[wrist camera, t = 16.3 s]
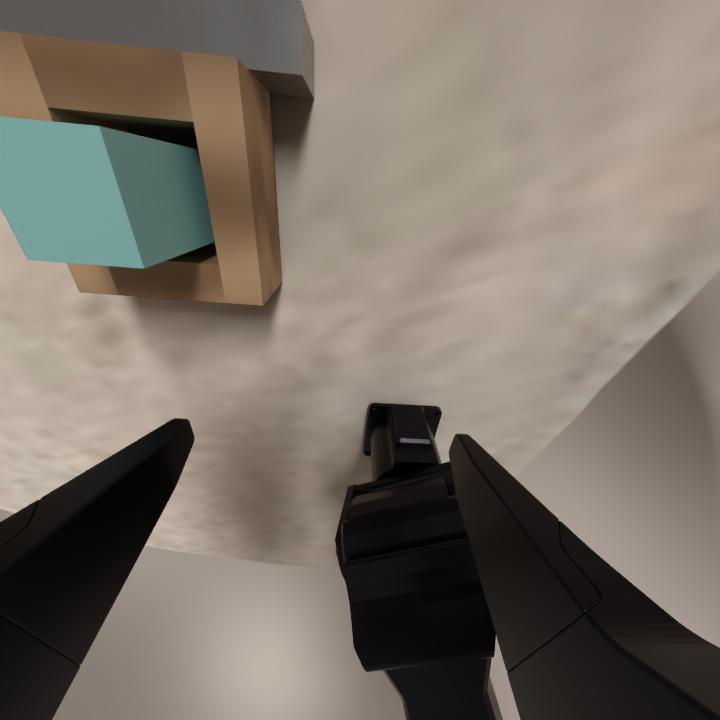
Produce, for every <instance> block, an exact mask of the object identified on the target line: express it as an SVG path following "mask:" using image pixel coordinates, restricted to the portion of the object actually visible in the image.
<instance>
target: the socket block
mask: <svg viewBox="0 0 720 720" xmlns="http://www.w3.org/2000/svg"><path fill="white" fill-rule="evenodd" d="M0 117H11V118H21V119H32V120H42V121H52V122H63V123H73V124H84V125H94V126H101V127H105V128H110V129H114V130H118V131H122V132H126V133H129V131H128V128H133V129H143V130H153V131H163V132H173V133H183V134H194V135H196V139H197V144H198V150H199V156H200V161H201V167H202V172H203V178H204V184H205V189H206V195H207V201H208V206H209V212H210V217H211V223H212V229H213V234H214V240H215V246H210V245H206V246H203V247H200V248H198V249H195V250H192V251H190V252H187V253H184V254H182V255H179V256H176V257H174V258H171V259H168V260H166V261H163V262H161V263H158V264H155V265H153V266H150V267H147V268H145V269H142V268H129V267H116V266H102V265H89V264H76V263H67V265H68V268H69V270H70V272H71V274H72V276H73V279H74V281H75V283H76V285H77V287H78V290H79V292H83V293H96V294H110V295H124V296H137V297H151V298H165V299H179V300H192V301H206V302H220V303H233V304H247V305H261V306H263V305H264V304H265V303H266V301H267V300H268V299H269V298H270V296H271V295H272V294H273V293H274V291H275V290H276V289H277V288H278V287H279V285H280V284H281V283H282V272H281V257H280V242H279V226H278V211H277V196H276V181H275V165H274V150H273V135H272V120H271V104H270V92H269V91H268V90H267V89H266V88H265V87H264V86H263V85H262V84H261V83H260V82H259V81H258V80H257V78H256V77H255V76H254V75H253V74H252V73H251V72H250V71H249V70H248V69H247V68H246V67H245V66H244V65H243V64H242V62H241V61H240V60H239V59H238V58H237V57H229V56H220V55H211V54H202V53H194V52H185V51H176V50H167V49H158V48H149V47H140V46H131V45H122V44H113V43H104V42H95V41H86V40H77V39H68V38H59V37H50V36H42V35H33V34H24V33H15V32H6V31H0Z"/></svg>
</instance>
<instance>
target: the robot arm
mask: <svg viewBox="0 0 720 720" xmlns="http://www.w3.org/2000/svg"><path fill="white" fill-rule="evenodd" d="M373 408H376V409H373ZM434 412H436V413H434ZM441 415H442V412H441V409H440V408H439V407H435V406H417V405H400V404H383V403H372V404H370V405H369V409H368V417H367V425H366V433H365V441H364V449H363V453H364V455H366V456H371V463H372V482H368V483H364V484H360V485H351V486H348V490H347V494H346V497H345V501H344V505H343V509H342V513H341V517H340V521H339V525H338V530H337V534H336V538H335V542H336V547H337V548H336V554H337V557H338V561H339V566H340V569H341V573H342V575H343V577H344V580H345V581H346V585H347V591H348V596H349V602H350V611H351V621H352V632H353V643H354V648H355V651H356V653H357V655H358V657H359V659H360V662H361V664H362V666H363V668H364V669H365V671H367V672H372V671H381V670H383V671H384V673H385V674H386V676H387V677H388V679H389V680H390V682H391V683H392V685H393V686H394V688H395V689H396V691H397V692H398V694H399V695H400V697H401V699H402V701H403V706H404V710H405V715H406V720H503V719H502V716H501V712H500V709H499V706H498V702H497V699H496V696H495V692H494V689H493V686H492V682H491V679H490V675H489V673H490V665H491V658H493V657H494V652H495V639H496V636H497V639H498V643H499V646H500V650H501V653H502V657H503V660H504V663H505V667H506V670H507V671H508V673H507V674H508V678H509V681H510V685H511V688H512V691H513V695H514V699H515V702H516V705H517V709H518V712H519V715H520V719H521V720H720V648H719V647H717V646H715V645H713V644H711V643H709V642H708V641H706V640H704V639H703V638H701V637H699V636H698V635H696V634H695V633H693V632H692V631H690V630H689V629H687V628H686V627H685V626H683V625H682V624H680V623H679V622H678V621H676V620H675V619H674V618H673V617H671V616H670V615H669V614H668V613H667V612H665V611H664V610H663V609H662V608H661V607H659V606H658V605H657V604H656V603H655V602H653V601H652V600H651V599H650V598H649V597H647V596H646V595H645V594H644V593H643V592H641V591H640V590H639V589H638V588H636V587H635V586H634V585H633V584H632V583H630V582H629V581H628V580H627V579H626V578H625V577H623V576H622V575H621V574H620V573H619V572H617V571H616V570H615V569H614V568H613V567H611V566H610V565H609V564H608V563H607V562H606V561H604V560H603V559H602V558H601V557H600V556H599V555H597V554H596V553H595V552H594V551H593V550H591V549H590V548H589V547H588V546H587V545H586V544H585V543H584V542H583V541H582V540H580V539H579V538H578V537H577V536H576V535H575V534H574V533H573V532H572V531H571V530H570V529H569V528H567V527H566V526H565V525H564V524H563V523H562V522H561V521H559V520H558V518H557V517H556V516H555V515H553V514H552V513H551V512H550V511H549V510H548V509H547V508H546V507H545V506H544V505H543V504H542V503H541V502H540V501H539V500H537V499H536V498H535V497H534V496H533V495H532V494H531V493H530V492H529V491H528V490H527V489H526V488H525V487H524V486H523V485H522V484H520V483H519V482H518V481H517V480H516V479H515V478H514V477H513V476H512V475H511V474H510V473H509V472H508V471H507V470H506V469H504V468H503V467H502V466H501V465H500V464H499V463H498V462H497V461H496V460H495V459H494V458H493V457H492V456H491V455H490V454H488V453H487V452H486V451H485V450H484V449H483V448H482V447H481V446H480V445H479V444H478V443H477V442H476V441H475V440H474V439H472V438H471V437H470V436H469V435H467V434H456V435H455V436H454V439H453V441H452V444H451V447H450V450H449V458H450V462H446V463H441V459H440V456H439V453H438V450H437V446H436V443H435V440H434V437H435V434H436V431H437V428H438V424H439V421H440V418H441ZM193 443H194V434H193V431H192V428H191V425H190V422H189V420H188V419H179V418H175V419H172V420H170V421H169V422H167V423H165V424H164V425H162V426H160V427H159V428H157V429H155V430H154V431H152V432H150V433H149V434H147V435H145V436H144V437H142V438H140V439H139V440H137V441H135V442H134V443H132V444H130V445H129V446H127V447H125V448H124V449H122V450H120V451H119V452H117V453H115V454H114V455H112V456H110V457H109V458H107V459H105V460H104V461H102V462H100V463H99V464H97V465H95V466H94V467H92V468H90V469H89V470H87V471H85V472H84V473H82V474H80V475H79V476H77V477H75V478H74V479H72V480H70V481H69V482H67V483H65V484H64V485H62V486H60V487H59V488H57V489H55V490H54V491H52V492H50V493H49V494H47V495H45V496H43V497H42V498H41V499H40V500H37V501H35V502H33V503H32V504H30V505H28V506H27V507H25V508H23V509H22V510H20V511H18V512H17V513H15V514H13V515H11V516H10V517H8V518H7V519H5V520H3V521H1V522H0V720H52V719H53V717H54V715H55V713H56V711H57V709H58V708H59V706H60V704H61V702H62V700H63V698H64V696H65V694H66V693H67V690H68V689H69V687H70V685H71V683H72V681H73V679H74V678H75V676H76V674H77V672H78V670H79V668H80V666H79V665H81V664H82V662H83V660H84V658H85V656H86V654H87V653H88V651H89V649H90V647H91V645H92V643H93V641H94V640H95V638H96V636H97V634H98V632H99V630H100V628H101V626H102V624H103V623H104V621H105V619H106V617H107V615H108V613H109V611H110V609H111V607H112V606H113V604H114V602H115V600H116V598H117V596H118V594H119V593H120V591H121V589H122V587H123V585H124V583H125V581H126V579H127V578H128V576H129V574H130V572H131V570H132V568H133V566H134V564H135V563H136V561H137V559H138V557H139V555H140V553H141V551H142V549H143V548H144V546H145V544H146V542H147V540H148V538H149V536H150V534H151V533H152V531H153V529H154V527H155V525H156V523H157V521H158V519H159V518H160V516H161V514H162V512H163V510H164V508H165V506H166V504H167V502H168V501H169V499H170V497H171V495H172V493H173V491H174V489H175V487H176V485H177V483H178V480H179V478H180V475H181V473H182V470H183V468H184V466H185V463H186V461H187V458H188V456H189V453H190V451H191V448H192V446H193Z"/></svg>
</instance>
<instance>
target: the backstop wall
mask: <svg viewBox="0 0 720 720" xmlns="http://www.w3.org/2000/svg"><path fill="white" fill-rule="evenodd" d="M0 31H6V32H15V33H24V34H33V35H42V36H50V37H59V38H68V39H77V40H86V41H95V42H104V43H113V44H122V45H131V46H140V47H149V48H158V49H167V50H176V51H185V52H194V53H202V54H211V55H220V56H229V57H237V58H238V59H239V60H240V61H241V62H242V64H243V65H244V66H245V67H246V68H247V69H248V70H249V71H250V72H251V73H252V74H253V75H254V76H255V77H256V78H257V80H258V81H259V82H260V83H261V84H262V85H263V86H264V87H265V88H266V89H267V90H268V91H269V92H270V94H278V95H287V96H297V97H306V98H314V41H313V38H312V35H311V31H310V28H309V25H308V22H307V18H306V15H305V12H304V9H303V5H302V2H301V1H300V0H0Z"/></svg>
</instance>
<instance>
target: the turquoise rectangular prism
mask: <svg viewBox="0 0 720 720" xmlns="http://www.w3.org/2000/svg"><path fill="white" fill-rule="evenodd" d="M0 208H1V210H2V211H3V213H4V215H5V217H6V219H7V221H8V223H9V225H10V227H11V229H12V231H13V233H14V235H15V236H16V238H17V240H18V242H19V244H20V246H21V248H22V250H23V252H24V254H25V256H26V258H27V260H36V261H49V262H62V263H76V264H89V265H102V266H116V267H129V268H142V269H145V268H147V267H150V266H153V265H155V264H158V263H161V262H163V261H166V260H168V259H171V258H174V257H176V256H179V255H182V254H184V253H187V252H190V251H192V250H195V249H198V248H200V247H203V246H206V245H208V244H211V243H214V242H215V240H214V234H213V229H212V223H211V217H210V212H209V206H208V201H207V195H206V189H205V184H204V178H203V172H202V167H201V161H200V156H199V150H198V149H194V148H189V147H185V146H181V145H177V144H173V143H168V142H164V141H160V140H156V139H152V138H147V137H143V136H139V135H135V134H131V133H126V132H122V131H118V130H114V129H110V128H105V127H101V126H94V125H84V124H73V123H63V122H52V121H42V120H32V119H21V118H11V117H0Z"/></svg>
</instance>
